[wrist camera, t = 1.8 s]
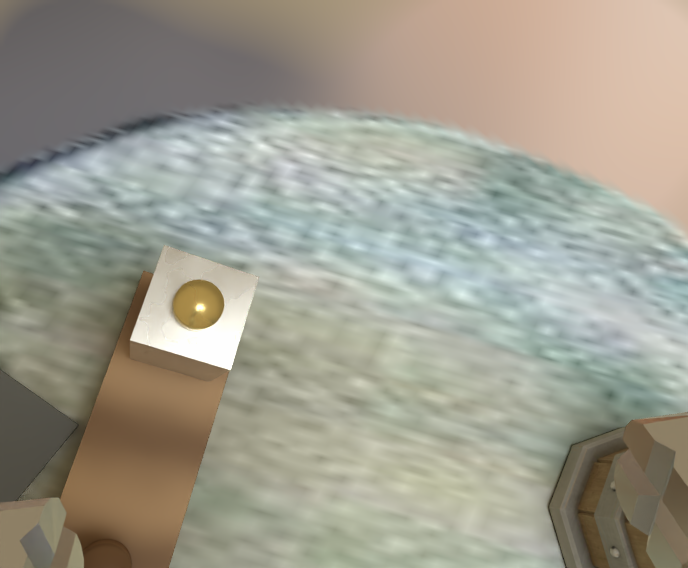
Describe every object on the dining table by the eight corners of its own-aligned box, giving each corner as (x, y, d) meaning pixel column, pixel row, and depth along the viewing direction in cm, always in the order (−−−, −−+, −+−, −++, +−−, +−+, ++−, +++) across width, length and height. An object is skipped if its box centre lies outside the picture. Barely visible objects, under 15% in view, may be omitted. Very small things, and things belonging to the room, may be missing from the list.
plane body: (146, 621, 39) (149, 653, 33) (26, 598, 37) (8, 628, 31) (241, 312, 44) (258, 296, 39) (142, 280, 43) (144, 259, 37)
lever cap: (209, 382, 40) (233, 368, 31) (129, 358, 39) (129, 337, 29) (232, 307, 41) (262, 272, 32) (156, 282, 40) (165, 239, 31)
